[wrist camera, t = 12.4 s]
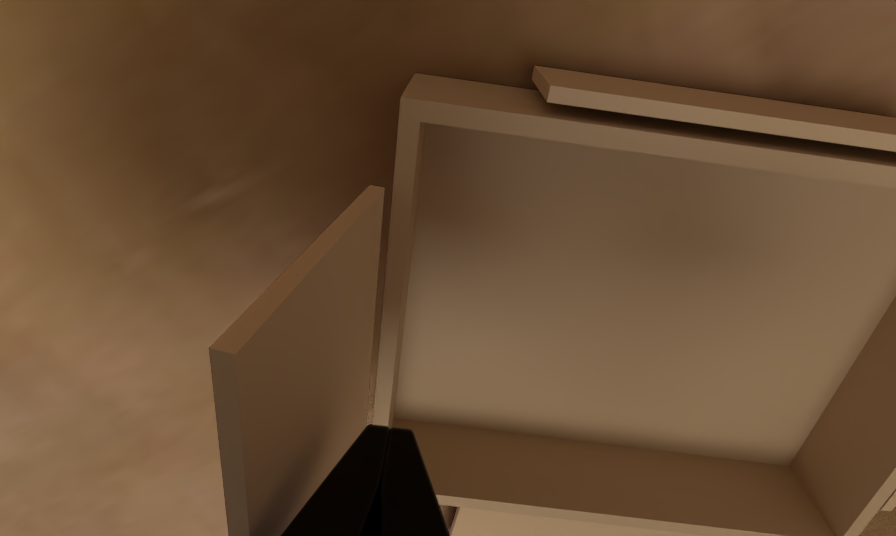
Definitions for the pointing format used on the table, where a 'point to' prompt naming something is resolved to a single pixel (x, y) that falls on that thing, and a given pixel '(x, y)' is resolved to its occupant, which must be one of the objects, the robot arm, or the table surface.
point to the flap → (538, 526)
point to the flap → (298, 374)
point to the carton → (643, 304)
